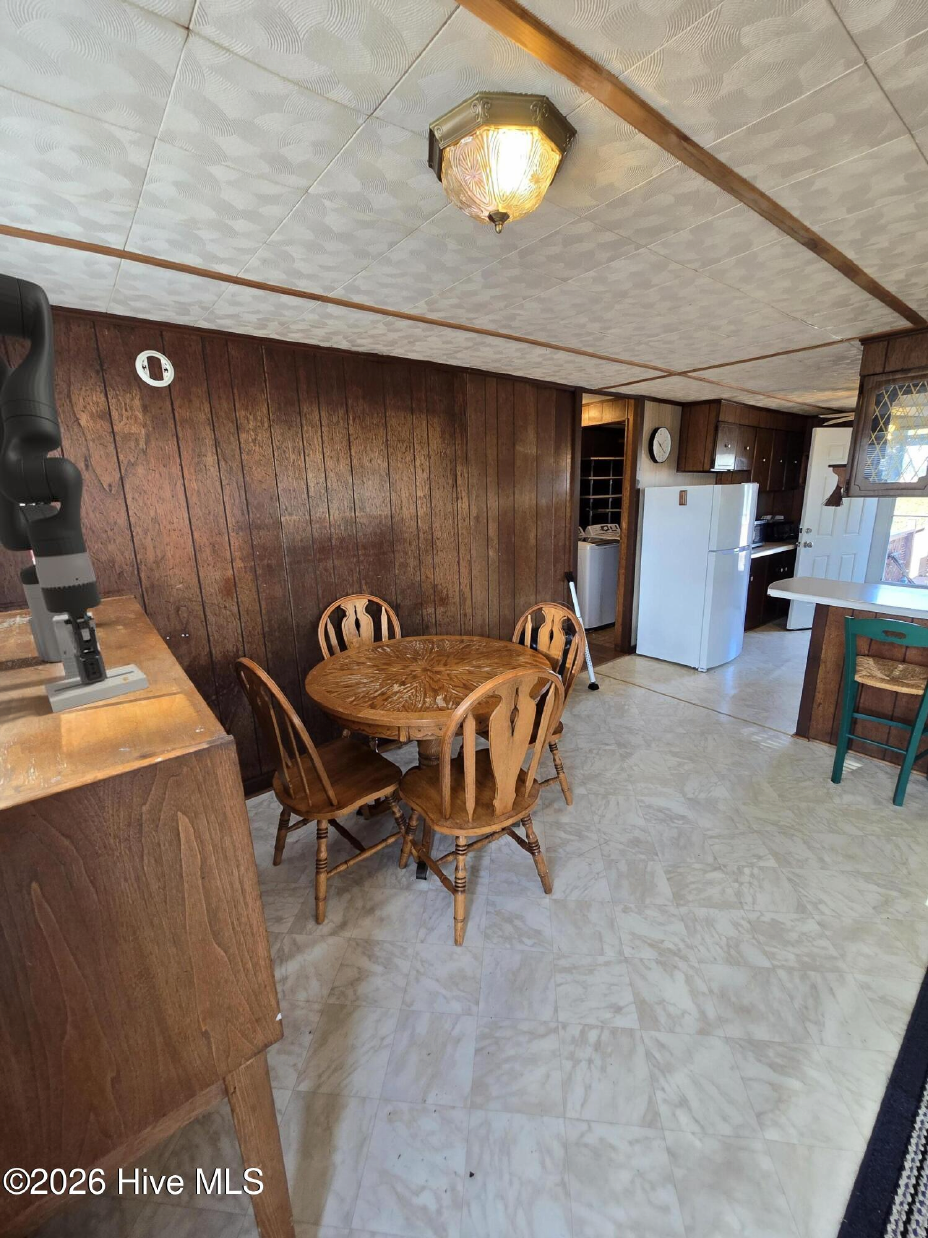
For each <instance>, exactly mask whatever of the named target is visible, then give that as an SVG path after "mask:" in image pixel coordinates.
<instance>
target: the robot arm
mask: <svg viewBox="0 0 928 1238" xmlns="http://www.w3.org/2000/svg"><path fill="white" fill-rule="evenodd" d="M51 309H52V308H51V304H50V300H49V297H48V294H47V293H46V291H45V290H44V289H43V287H42V286H41V285H39V284H37V283H35V282H32V281H29V280H27V279H23V278H19V277H16V276H12V275H8V274H5V273H0V336H5V337H10V338H13V339H14V338H15V339H19V340H26V341H30V347H29V351H28V352H27V354H26V355H25V357H24V358H23V360H22V361H21V362H20V363H19V364H18V365H17V367H16V368H15V369H14V370H13V369H12V368H11V367H10V365H9V363H8V362H7V361H6V359H5V357H4V356H3V354H2V353H1V351H0V543H1V545H2V547H3V548H4V549H6V550H8V551H11V552H26V551H27V552H28V551H32V554H33V557H34V564H32V565H29V566H28V567H25V568H23V569H22V570H20V573H19V578H20V581H21V584H22V587H23V590H24V594H25V595H24V596H25V598H26V601H27V604H28V608H29V611H30V615H31V617H29V618H28V624H29V627H30V628H29V629H30V631H31V635H32V638H33V642H34V645H35V648H36V652H37V655H38V659H39V661H45V662H47V661H48V663H49V662H51V663H53V662H54V663H55V662H62V659H61V655H60V651H59V647H58V643H57V639H56V635H55V630H54V627H53V623H52V620H53V618H54V617H55V616H61V615H68V619H67V620H63V621H64V625H65V628H66V630H67V631H68V633H69V637H70V641H71V643H72V644H73V646H74V649H76V653H79V654H80V657H79V658H80V659H81V661H82V663H83V666H84V670H85V674H86V678H87V680H89V681H92V680H96V679H100V678H102V672H101V668H100V664H99V660H98V658H99V654H100V652H99V651H98V646H97V643H99V640H98V639H97V638H98V634H97V631H95V630H96V626H97V625H96V622H95V618H94V617H93V618H92V616H93V615H92V616H88V615H87V612H88V611H87V610H88V609H93V608H96V607H99V606H101V604H102V599H101V595H100V590H99V587H98V583H97V578H96V573H95V570H94V567H93V563H92V561H91V559H90V556H89V553H88V550H87V546H86V542H85V538H84V534H83V527H82V522H81V521H82V520H81V518H82V517H81V515H82V513H81V510H82V509H81V508H82V507H81V505H82V498H83V489H84V487H83V486H84V479H83V475H82V473H81V470H80V469H79V467H78V466H77V464H75V463H74V462H73V461H71V460H70V459H68V458H66V457H62V456H61V457H60V456H58V457H57V456H55V457H54V456H52V457H50V456H49V457H48V455H49V453H51V452H54V451H56V450H58V449H60V447H61V446H62V443H63V442H62V441H63V439H62V432H61V425H60V419H59V415H58V410H57V409H58V408H57V402H56V391H55V374H56V372H55V368H56V367H55V365H56V364H55V362H56V361H55V341H54V326H53V325H54V324H53V323H54V322H53V314H52V310H51ZM51 503H60V507H59V509H58V507H56V506H55V505H53V504H51ZM96 634H97V635H96ZM86 650H92V651H87V652H84V651H86Z"/></svg>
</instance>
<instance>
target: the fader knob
mask: <svg viewBox="0 0 928 1238" xmlns="http://www.w3.org/2000/svg"><path fill="white" fill-rule="evenodd" d="M87 651H92V650H86V651H84V652H87ZM98 651H99V652H100V654H99V658H98V660H99V664H100V668H101V672H102V678H100V679H96V680H92V681H89V680H87V678H86V674H85V670H84V666H83V663H82V661H81V659H80V658H79V657H80V654H79V653H74V654H73V655H74V659H75V662H76V666H77V670H78V673H79V677H80V680H81V682H82V684H86V683H90V682H94V681H98V680H102V679H106V678H107V674H106V666H105V663H104V659H103V658H104V657H103V655H102V652H101V649H100V650H99V649H98Z"/></svg>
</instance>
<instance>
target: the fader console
mask: <svg viewBox="0 0 928 1238" xmlns="http://www.w3.org/2000/svg"><path fill="white" fill-rule="evenodd" d="M105 670H106V669H105ZM106 674H107V678H106V679H102V680H98V681H94V682H90V683H86V684H82V682H81V680H80V677H77V678H73V679H68V680H67V679H65V680H61V681H57V682H52V683H49V684H44V687H45V692H46V694H47V699H48V701H49V704H50V707H51V709H52V713H53V714H54V713H58V712H62V711H65V710H70V709H74V708H77V707H78V708H79V707H80V706H85V705H88V704H91V703H96V702H100V701H102V700H106V699H107V700H108V699H111V698H115V697H119V696H121V695H124V694H128V693H133V692H137V691H140V690H144V689H148V688H150V685H149V682H148V681H149V680H148V676H146V675H145V674H144V673H143V671H141V669H140V668H138V666H137V665H136V664H134V663H132V664H128V665H125V666H120V667H116V668H111V669H107V670H106Z"/></svg>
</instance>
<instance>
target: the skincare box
mask: <svg viewBox="0 0 928 1238" xmlns="http://www.w3.org/2000/svg"><path fill="white" fill-rule="evenodd" d="M86 612H87V615H88V616H92V618H94V616H93V612H92V611H86ZM67 619H68V615H61V616H55V617H54V618H53V620H52V623H53V627H54V630H55V635H56V639H57V643H58V647H59V651H60V655H61V659H62V661H61V662H62V666H63V671H64V674H65V680H68V679H73V678H77V677H79V673H78V670H77V666H76V662H75V659H74V655H73V654H74V653H76V649H74V646H73V644H72V643H71V641H70V637H69V633H68V631H67V630H66V628H65V625H64V621H63V620H67ZM95 631H96V629H95ZM96 632H97V631H96ZM96 635H97V636H98V633H96ZM97 639H98V637H97ZM97 646H98V649H99V650H100V651H101V647H100V643H99V642H98V643H97Z"/></svg>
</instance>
